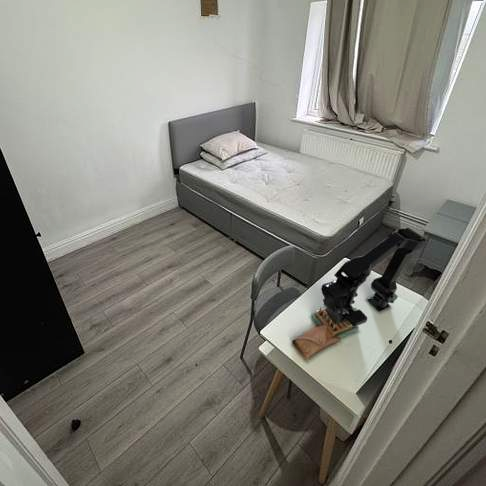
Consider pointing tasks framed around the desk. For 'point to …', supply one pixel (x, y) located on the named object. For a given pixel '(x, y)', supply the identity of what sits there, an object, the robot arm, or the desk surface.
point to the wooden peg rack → (338, 329)
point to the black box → (336, 317)
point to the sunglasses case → (314, 341)
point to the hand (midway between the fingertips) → (337, 315)
